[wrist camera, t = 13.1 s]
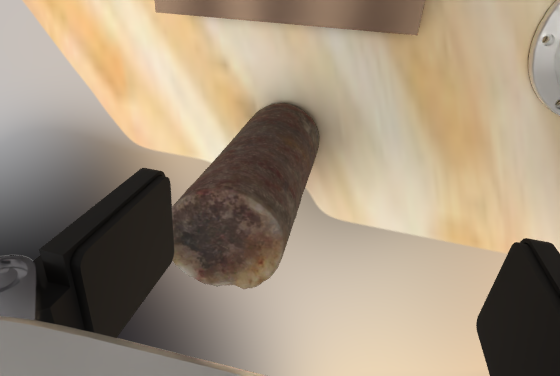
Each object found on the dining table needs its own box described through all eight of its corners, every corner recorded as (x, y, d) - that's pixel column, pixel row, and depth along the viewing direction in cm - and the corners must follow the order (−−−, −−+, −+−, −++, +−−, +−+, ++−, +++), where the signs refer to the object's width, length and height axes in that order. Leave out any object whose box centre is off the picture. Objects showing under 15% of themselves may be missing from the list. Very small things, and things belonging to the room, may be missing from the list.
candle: (259, 87, 37) (169, 176, 20) (331, 111, 37) (301, 221, 20) (242, 155, 41) (154, 278, 24) (307, 177, 41) (264, 318, 24)
